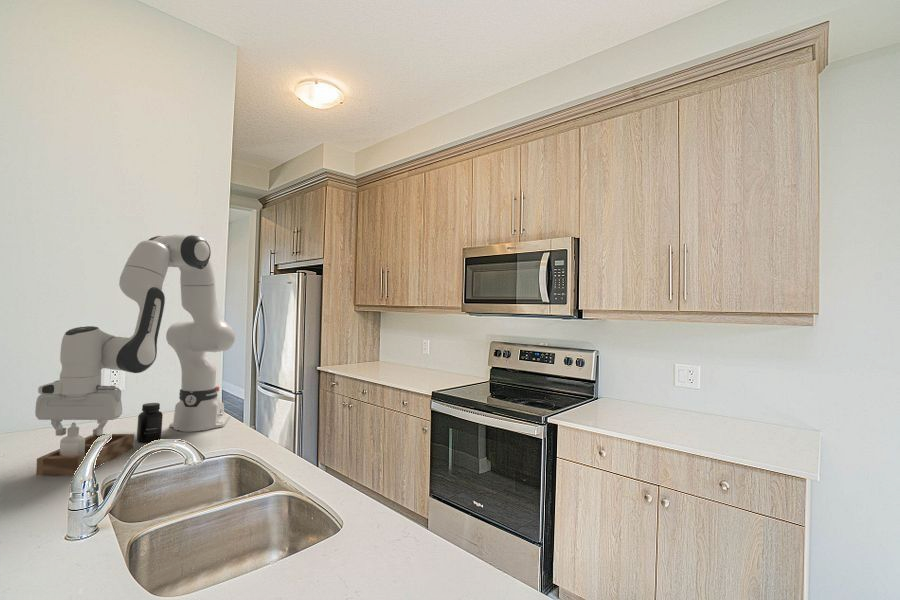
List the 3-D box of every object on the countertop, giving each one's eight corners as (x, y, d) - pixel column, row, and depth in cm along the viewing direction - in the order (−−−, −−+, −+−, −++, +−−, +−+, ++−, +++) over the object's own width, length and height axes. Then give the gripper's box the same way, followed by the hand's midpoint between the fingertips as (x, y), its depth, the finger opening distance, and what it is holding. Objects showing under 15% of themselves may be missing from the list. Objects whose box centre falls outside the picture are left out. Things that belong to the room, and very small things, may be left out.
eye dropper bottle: (65, 470, 117) (68, 426, 117) (57, 466, 120) (59, 422, 120) (85, 466, 121) (87, 422, 121) (76, 461, 124) (78, 419, 124)
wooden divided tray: (93, 448, 135) (94, 433, 135) (133, 448, 137) (133, 433, 137) (36, 475, 114) (36, 457, 114) (83, 475, 115) (84, 457, 115)
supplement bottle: (148, 444, 141) (150, 407, 141) (131, 442, 142) (132, 405, 142) (166, 438, 148) (168, 402, 148) (149, 436, 149) (151, 401, 149)
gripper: (128, 383, 125) (126, 431, 125) (50, 382, 123) (48, 431, 123) (113, 388, 119) (112, 438, 119) (31, 387, 117) (29, 438, 117)
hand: (79, 435), depth 121 cm, fingers open, 8 cm apart
